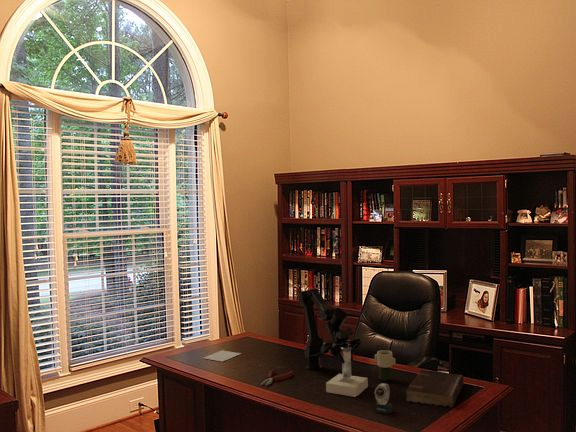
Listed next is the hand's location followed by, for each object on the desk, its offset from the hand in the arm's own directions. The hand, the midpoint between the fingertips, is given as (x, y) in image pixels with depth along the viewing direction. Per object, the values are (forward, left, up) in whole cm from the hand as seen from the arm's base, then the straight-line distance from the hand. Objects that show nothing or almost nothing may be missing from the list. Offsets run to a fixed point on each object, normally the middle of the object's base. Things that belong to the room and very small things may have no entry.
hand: (347, 362), depth 237 cm
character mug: (-20, +10, -13) cm, 26 cm away
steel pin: (-1, -1, -7) cm, 7 cm away
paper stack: (-15, -79, -13) cm, 82 cm away
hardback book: (-14, +35, -13) cm, 40 cm away
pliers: (+1, -39, -13) cm, 41 cm away
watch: (+16, +22, -13) cm, 30 cm away
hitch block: (-1, -1, -12) cm, 12 cm away
